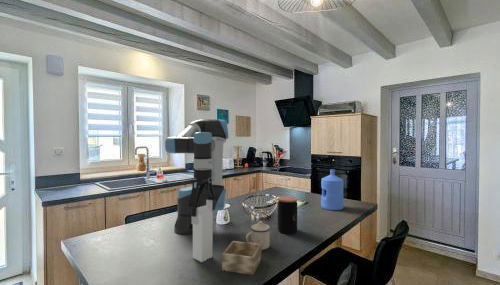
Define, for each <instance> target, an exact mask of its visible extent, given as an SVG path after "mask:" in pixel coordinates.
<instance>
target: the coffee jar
mask: <svg viewBox="0 0 500 285" xmlns="http://www.w3.org/2000/svg"><path fill="white" fill-rule="evenodd" d="M297 201H298V197H295V196H292V195H291V196H290V195H282V196H278V197H277V231H278V232H279V233H281V234H283V235H284V234H286V235H293V234H295V233H296V232H297V231H298V202H297Z"/></svg>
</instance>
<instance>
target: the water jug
mask: <svg viewBox="0 0 500 285" xmlns="http://www.w3.org/2000/svg"><path fill="white" fill-rule="evenodd" d="M329 173H330V174H328V175H326V176H324V177H322V178H321V182H320V185H321V187H320V188H321V196H320V207H321V208H322V209H325V210H327V211H342V210H343V209H344V186H345V184H344V183H345V182H344V179H343V178H341V177H339V176H337V175H335V174H336V169H334V168H331V169H330V171H329Z"/></svg>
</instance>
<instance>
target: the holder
mask: <svg viewBox="0 0 500 285" xmlns="http://www.w3.org/2000/svg"><path fill="white" fill-rule="evenodd" d="M261 260H262V250H261V244H255V243H248V242H247V241H246V242H245V241H237V240H232V241H231V242H230V243H229V245H228V246H227V247H226V249H225V250H224V251H223V252H222V254H221V271H224V270H225V272H232V273H238V274H245V275H251V276H254V275H255V274H256V271H257V269H258V266H259V265H260V264H261Z"/></svg>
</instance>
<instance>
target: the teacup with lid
mask: <svg viewBox="0 0 500 285" xmlns="http://www.w3.org/2000/svg"><path fill="white" fill-rule="evenodd" d="M250 229H251V230H250V232H247V234H246V235H245V240H246V242H247V243H255V244H261V251H264V250H267V249H268V248H270V239H271V238H270V237H271V236H270V234H271V233H270V232H271V226H270V225H268V224H266V223H263V221H262V220H259V221H258V223H254V224H252V225H251V226H250ZM250 235H251V236H250ZM249 236H250V238H251V239H250V240H249Z"/></svg>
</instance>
